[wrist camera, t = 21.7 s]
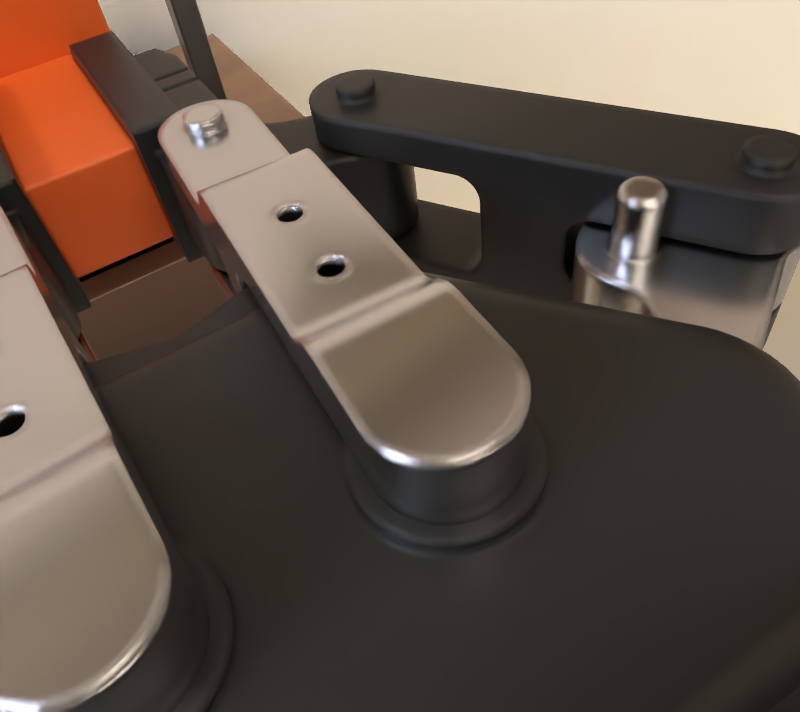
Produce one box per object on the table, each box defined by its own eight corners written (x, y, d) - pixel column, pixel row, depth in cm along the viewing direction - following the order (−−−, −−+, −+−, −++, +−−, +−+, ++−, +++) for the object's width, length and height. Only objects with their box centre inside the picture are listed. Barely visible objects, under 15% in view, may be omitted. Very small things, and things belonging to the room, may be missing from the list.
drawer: (-334, -14, 16) (-377, 119, 11) (155, -152, 19) (270, -90, 14) (59, 451, 29) (108, 594, 25) (303, 327, 33) (386, 434, 28)
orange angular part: (-174, -109, 12) (-147, 56, 7) (-2, -154, 13) (129, -32, 8) (-4, 166, 17) (88, 391, 12) (119, 119, 17) (255, 310, 12)
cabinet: (-169, 203, 21) (-149, 407, 15) (230, 53, 24) (363, 175, 19) (65, 473, 32) (125, 648, 26) (316, 343, 35) (416, 474, 30)
